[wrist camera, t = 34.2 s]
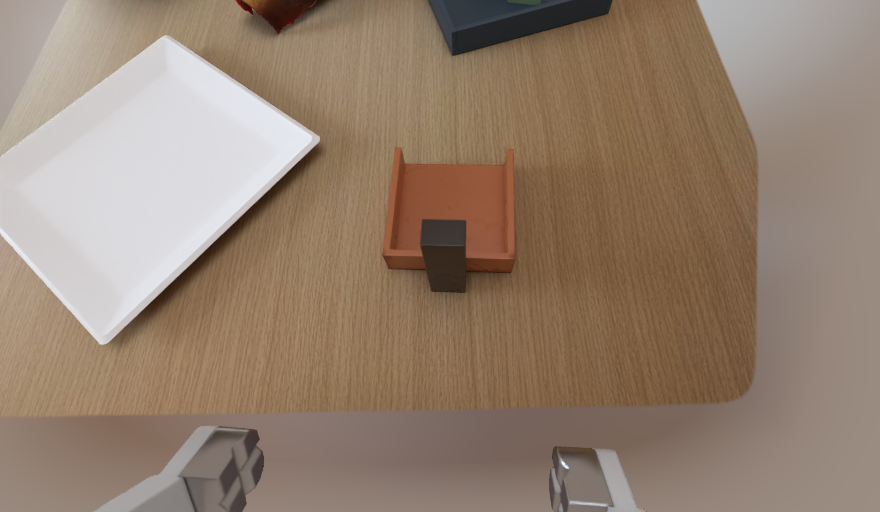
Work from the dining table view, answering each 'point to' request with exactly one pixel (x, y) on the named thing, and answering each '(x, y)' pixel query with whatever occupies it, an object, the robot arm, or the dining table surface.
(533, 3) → the sage block
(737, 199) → the dining table surface
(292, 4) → the pot
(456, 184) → the pan
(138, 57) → the plate
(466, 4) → the tray
